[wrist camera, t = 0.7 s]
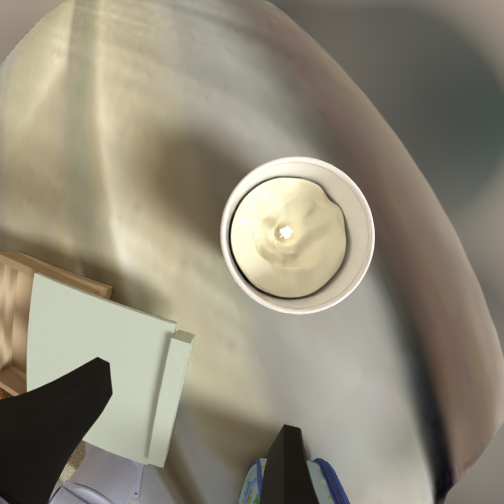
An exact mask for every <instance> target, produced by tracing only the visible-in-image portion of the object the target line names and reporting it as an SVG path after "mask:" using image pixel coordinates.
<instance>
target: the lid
mask: <svg viewBox="0 0 504 504" xmlns="http://www.w3.org/2000/svg"><path fill="white" fill-rule="evenodd" d="M177 323H178V322H175V321H172V320H168V319H165V318H162V317H159V316H156V315H152V314H149V313H146V312H143V311H140V310H137V309H134V308H131V307H128V306H125V305H122V304H120V303H117V302H114V301H111V300H108V299H105V298H103V297H100V296H97V295H95V294H92V293H89V292H87V291H84V290H81V289H79V288H76V287H74V286H71V285H68V284H66V283H63V282H61V281H59V280H56V279H54V278H51V277H49V276H46V275H44V274H42V273H34V280H33V287H32V295H31V303H30V313H29V324H28V339H27V392H28V391H31V390H34V389H36V388H38V387H41V386H43V385H45V384H47V383H49V382H52V381H54V380H56V379H58V378H60V377H61V376H63V375H65V374H67V373H69V372H71V371H73V370H75V369H76V368H78V367H80V366H82V365H83V364H85V363H87V362H89V361H91V360H92V359H94V358H96V357H99V358H101V359H103V360H105V361H107V362H109V363H110V371H111V381H112V390H113V395H112V396H111V398H110V400H109V402H108V404H107V405H106V407H105V409H104V411H103V412H102V414H101V415H100V416H99V418H98V419H97V420H96V422H95V423H94V424H93V426H92V427H91V428H90V430H89V431H88V432H87V433H86V435H85V436H84V437H83V439H82V440H83V441H86V442H88V443H90V444H92V445H95V446H97V447H99V448H102V449H104V450H106V451H109V452H111V453H114V454H117V455H119V456H122V457H124V458H127V459H130V460H133V461H136V462H138V463H141V464H144V465H147V466H148V464H151V465H155V466H158V467H161V468H163V467H164V464H165V461H166V458H167V454H168V451H169V446H170V441H171V437H172V432H173V427H174V423H175V418H176V414H177V409H178V405H179V401H180V396H181V392H182V388H183V383H184V379H185V375H186V371H187V366H188V362H189V358H190V354H191V350H192V346H193V342H194V338H195V334H191V333H188V332H184V331H181V330H177V331H176V327H177ZM175 331H176V333H175Z"/></svg>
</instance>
